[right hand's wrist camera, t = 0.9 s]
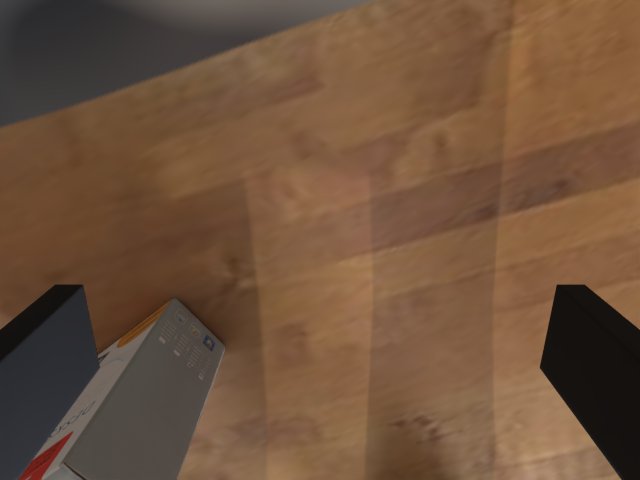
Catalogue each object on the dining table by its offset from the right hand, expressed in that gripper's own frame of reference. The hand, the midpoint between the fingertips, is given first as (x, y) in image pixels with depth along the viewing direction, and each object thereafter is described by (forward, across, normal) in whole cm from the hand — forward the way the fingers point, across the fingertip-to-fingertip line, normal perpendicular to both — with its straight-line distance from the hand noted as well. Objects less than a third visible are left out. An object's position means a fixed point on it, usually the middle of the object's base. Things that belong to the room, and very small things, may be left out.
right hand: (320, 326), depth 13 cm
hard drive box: (+28, +18, +21) cm, 39 cm away
